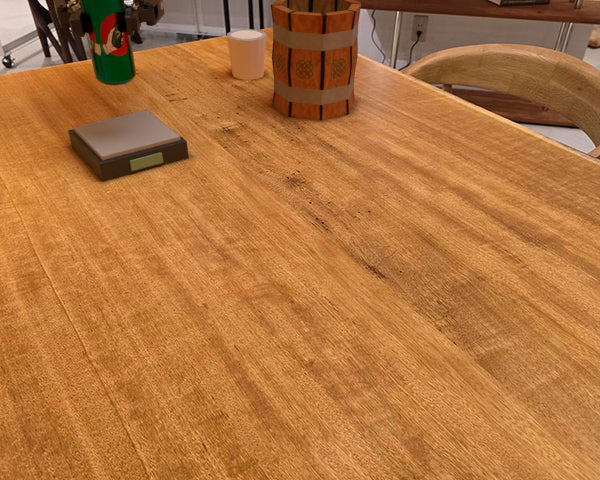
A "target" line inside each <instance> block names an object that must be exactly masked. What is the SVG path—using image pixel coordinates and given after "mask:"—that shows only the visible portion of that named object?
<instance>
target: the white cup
mask: <svg viewBox="0 0 600 480" xmlns="http://www.w3.org/2000/svg"><path fill="white" fill-rule="evenodd" d="M226 40H227V45H228V46H227V47H228V53H229V61H230V65H231V66H230V67H231V73H232V74H231V75H232V76H233V77H234V78H235V79H237V80H245V81H253V80H258V79H261V78H263V77H264V76H265V64H266V46H267V32H265V31H263V30H259V29H253V28H243V29H242V28H240V29H235V30H231V31H229V32H227V34H226Z"/></svg>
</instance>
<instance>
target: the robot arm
mask: <svg viewBox="0 0 600 480" xmlns="http://www.w3.org/2000/svg"><path fill="white" fill-rule="evenodd" d="M52 1H53V5H54V10H55V14H56V19H57V21H58V23H59V26H60V29H64V30H69V29H70V30H71V31H70V32H71V33H72V34H76V36H77V38H85V36H86V31H85V26H84V21H83V17H82V12H81V7H80V3H79V0H70V1H69V0H52ZM124 2H125V8H126V11H125V22H126V28H127V34H128V35H130V36H135V32H139V31H140V29H141V27H142V23H145V25H147V26H149V27H154V26H156V25H157V24H158V23H159V22H160V20H161V19H162V18H163V16H165V15H166V14H165V9H164V8H165V5H164V0H124Z"/></svg>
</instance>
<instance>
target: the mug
mask: <svg viewBox="0 0 600 480" xmlns="http://www.w3.org/2000/svg"><path fill="white" fill-rule="evenodd" d="M361 9H362V2H361V1H358V0H274V1H273V2H272V3H271V4H270V10H271V18H272V19H271V20H272V36H273V37H272V52H271V64H272V73H273V97H272V107H273V108H275V109H276V110H278V111H279V112H280V113H282V114H283V115H285V116H286V117H288V118H295V119H303V120H311V121H321V122H322V121H326V120H330V119H334V118H338V117H343V116H348V115H350V113H351V111H352V109H353V107H354V104H355V80H356V79H355V78H356V77H355V76H356V69H357V62H358V55H359V54H358V48H359V47H358V35H359V34H358V33H359V22H360V21H359V20H360V15H361V11H362V10H361Z"/></svg>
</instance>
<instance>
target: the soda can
mask: <svg viewBox="0 0 600 480" xmlns="http://www.w3.org/2000/svg"><path fill="white" fill-rule="evenodd" d="M79 3H80V7H81V12H82V17H83V21H84V26H85V31H86V33H85V36H86V40H87V45H88V50H89V54H90V59H91V63H92V69H93V73H94V77H95V79H96V80H97V81H98V82H99V83H100V84H103V85H106V86H122V85H126V84H129V83H131V82H132V81H134V79H135V78H136V76H137V69H136V63H135V57H134V51H133V45H132V39H131V35H128V34H127V28H126V22H125V11H126V8H125V2H124V0H79Z"/></svg>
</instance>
